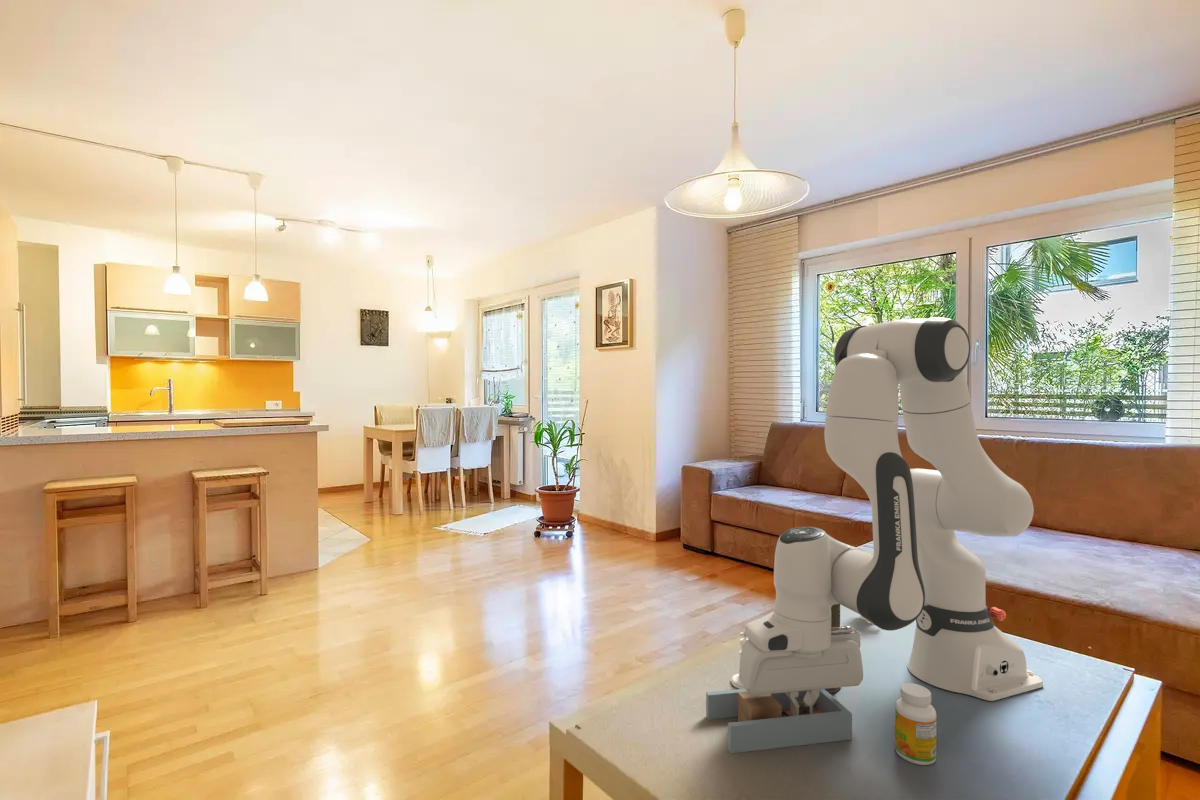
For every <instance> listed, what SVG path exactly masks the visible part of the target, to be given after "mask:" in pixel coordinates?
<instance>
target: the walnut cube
mask: <svg viewBox="0 0 1200 800" xmlns="http://www.w3.org/2000/svg"><path fill="white" fill-rule="evenodd" d="M779 717H782V712H781V705H780V704H779V703H778V702H777V700H776V699H775V698H774V697H773V696H772V695H771V694H764V695H751V694H750V693H749V692H748V691H746V692H738V717H737V722H741V721H750V720H760V719H769V718H779Z"/></svg>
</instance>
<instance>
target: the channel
mask: <svg viewBox="0 0 1200 800" xmlns="http://www.w3.org/2000/svg"><path fill="white" fill-rule="evenodd" d="M746 691H747V690H746V689H738V688H735V689H728V690H725V689H724V690H717V691H716V690H715V691H706V692H705V694H706V695H705V697H706V698H705V700H706V701H705V702H706V703H705V706H706V707H705V710H706V711H705V712H706V713H705V716H706V718H707V720H709V721H710V720H715V719H717V720H719V719H726V718H727V719H728V718H738V692H746ZM806 693H807V690H806V691H798V697H795V699H796V700H797V701H802V700H803V699H804V697H805V695H806ZM771 695H772V696H773V697H774V698H775V699H776V700H777V702H778V703H779V704H780V705H781V713H784V714H786V715H787V716H781V717H779V718H769V719H760V720H750V721H741V722H738V721H732V722H727V750H728V752H729V753H730V754H737V753H747V752H755V751H762V750H772V749H780V748H781V749H782V748H788V747H789V748H790V747H798V746H806V745H814V744H815V745H816V744H823V743H824V744H825V743H833V742H839V741H840V742H841V741H848V740H849V741H850V740H853V713H852V712H851V711H850V710H849V709H847V708H846V707H845V706H844V705H843V704H842V703H841V702H840V701H838V700H837V699H836V698H835V697H834V696H833V695H832V694H829V693H828V692H827V691H826V690H825V689H819V697H818V698H817V700H816V702H815V704H814V705H813V714H807V715H798V716H793V715H792V713H791V702H790V701H789V699H788V697H787V696H786V694H785V693H774V694H771Z"/></svg>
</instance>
